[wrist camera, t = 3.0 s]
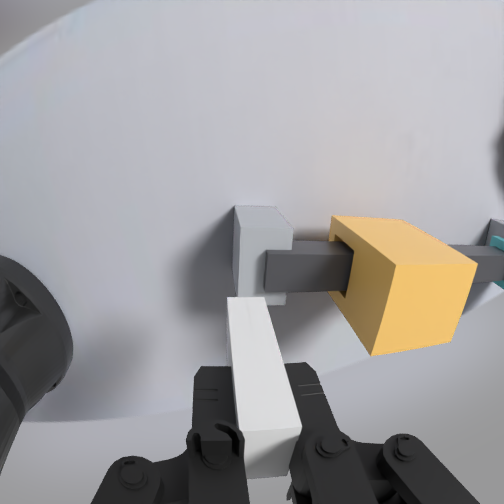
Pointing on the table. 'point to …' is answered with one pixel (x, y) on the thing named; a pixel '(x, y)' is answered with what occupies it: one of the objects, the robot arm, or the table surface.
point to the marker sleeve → (400, 284)
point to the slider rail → (318, 257)
